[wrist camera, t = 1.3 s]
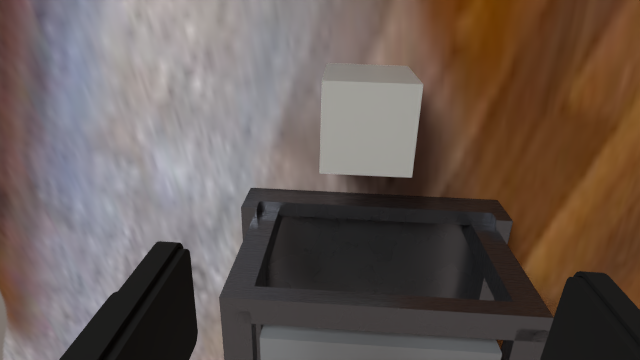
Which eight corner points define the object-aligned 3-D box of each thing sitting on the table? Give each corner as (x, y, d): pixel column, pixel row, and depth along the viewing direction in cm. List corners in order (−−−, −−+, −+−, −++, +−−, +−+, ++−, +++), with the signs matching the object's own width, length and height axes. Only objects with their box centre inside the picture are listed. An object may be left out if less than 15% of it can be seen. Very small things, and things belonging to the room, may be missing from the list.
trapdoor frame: (497, 200, 30) (574, 306, 20) (455, 395, 37) (495, 544, 27) (250, 187, 30) (202, 283, 20) (258, 381, 38) (226, 521, 28)
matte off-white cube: (407, 66, 26) (423, 84, 21) (399, 142, 28) (411, 177, 23) (327, 62, 27) (322, 80, 21) (324, 139, 29) (319, 173, 23)
